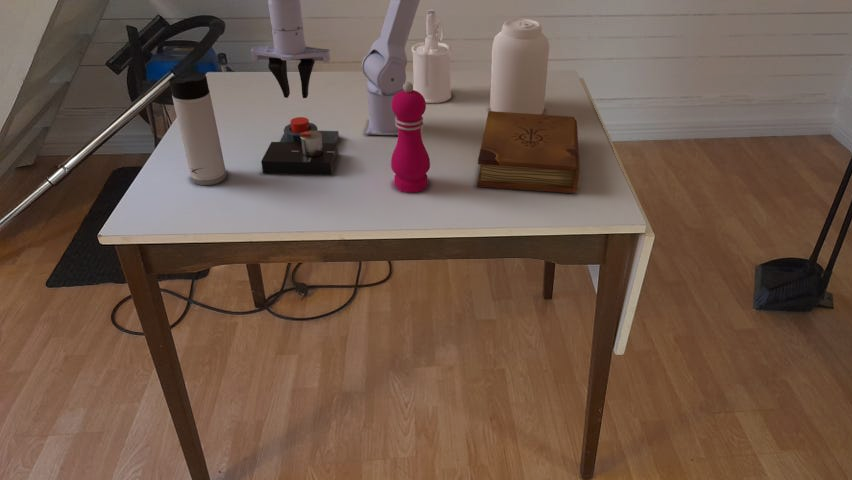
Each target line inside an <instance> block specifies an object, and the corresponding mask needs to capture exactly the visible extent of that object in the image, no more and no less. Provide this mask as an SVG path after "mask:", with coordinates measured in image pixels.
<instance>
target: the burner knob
mask: <svg viewBox="0 0 852 480" xmlns="http://www.w3.org/2000/svg"><path fill="white" fill-rule="evenodd" d="M318 131H319V130H318ZM318 131H306V132H303V133H300V138H301V146H302V153H303V154H304V155H305V156H311V157H313V156H318V155H321V154H322V153H323V143H322V134H321V133H320V132H318Z"/></svg>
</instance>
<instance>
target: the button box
mask: <svg viewBox="0 0 852 480" xmlns="http://www.w3.org/2000/svg"><path fill="white" fill-rule="evenodd" d="M309 128H310V130H309V131H318V132H320V133H321V134H322V143H337V144H338V142H339V140H340V139H339V138H340V133H339V132H340V131H338V130H319V129H318V126H317V125H316V124H315V123H313V122H309ZM279 142H301V138H300V133H295V132H292V130H291V123H289V124H287V125H285V127H284V128H283V134H282V136H281V139H280V141H279Z"/></svg>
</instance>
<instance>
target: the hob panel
mask: <svg viewBox="0 0 852 480" xmlns="http://www.w3.org/2000/svg"><path fill="white" fill-rule="evenodd" d="M338 156H339V151H338V142H337V143H323V153H322V154H321V155H318V156H313V157H311V156H305V155H304V154H303V153H302V146H301V142H280V141H271V142H270V144H269V145H268V147H267V149H266V151H265V153H264V155H263V157H262V159H261V161H260V163H261V168H262V169H261V170H262V173H263V174H267V175H271V174H273V175H275V174H276V175H318V176H319V175H320V176H321V175H323V176H326V175H327V176H331V175H333V171H334V168H335V165H336V162H337V159H338Z"/></svg>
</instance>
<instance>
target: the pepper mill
mask: <svg viewBox="0 0 852 480" xmlns="http://www.w3.org/2000/svg"><path fill="white" fill-rule="evenodd" d="M426 109H427V103H425V99H424V97H423V96H422V95H421V94H420V93H419V92H417V91H415V90H414V84H413V83H412V82H410V81H405V84H404V85H403V90H402V91H400V92H398V93H397V94H396V95H395V96H394V97H393V99H392V111H393V113H394V114H395V115H396V117H395V121H396V123H395V125H396V127H397V128H398V135H397V142H396V145H395V148H394V150H393V151H392V153H391V154H392V155H391V158H390V168H391V170H392V172H393V173H394V176H393V179H394V186H395V188H396V189H397V190H398V191H400V192H403V193H411V194H413V193H419V192H422V191H424V190H426V188H427V187H428V185H429V177H428V176H429V175H428V174H427V173H428V172H429V171H430V168H431V160H430V157H429V153H428V150H427V149H426V147H425V144H424V141H423V139H422V138H423V137H422V127H423V126H424V117H423V115H424V114H425V112H426Z"/></svg>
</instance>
